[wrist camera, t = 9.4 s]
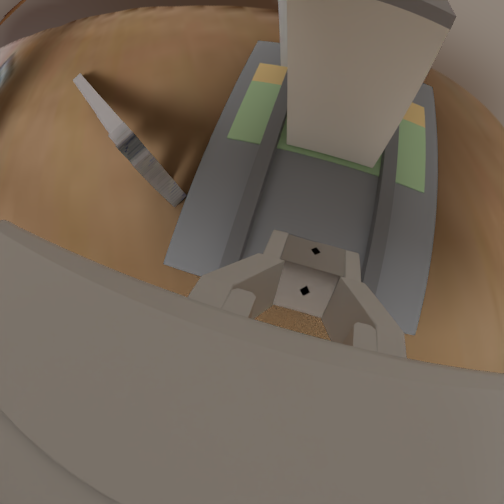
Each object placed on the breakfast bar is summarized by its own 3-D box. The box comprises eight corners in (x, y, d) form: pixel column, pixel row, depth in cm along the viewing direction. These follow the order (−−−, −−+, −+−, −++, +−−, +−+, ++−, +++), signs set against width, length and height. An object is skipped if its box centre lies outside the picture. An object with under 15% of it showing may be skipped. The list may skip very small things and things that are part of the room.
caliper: (191, 199, 17) (148, 146, 10) (178, 211, 17) (129, 164, 10) (83, 77, 21) (54, 40, 14) (75, 84, 21) (45, 48, 14)
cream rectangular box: (284, 143, 15) (281, -34, 5) (302, 84, 16) (308, -61, 5) (372, 168, 14) (456, 16, 4) (378, 105, 15) (429, -29, 5)
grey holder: (170, 266, 16) (62, 223, 7) (259, 49, 18) (247, -43, 9) (407, 333, 14) (519, 352, 5) (428, 94, 16) (471, 16, 7)
